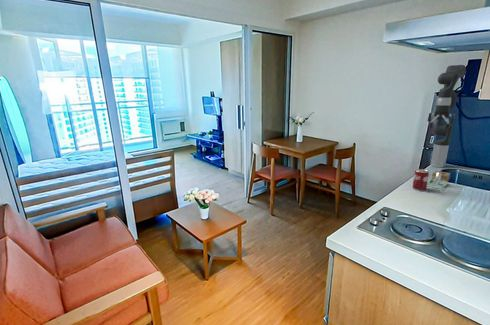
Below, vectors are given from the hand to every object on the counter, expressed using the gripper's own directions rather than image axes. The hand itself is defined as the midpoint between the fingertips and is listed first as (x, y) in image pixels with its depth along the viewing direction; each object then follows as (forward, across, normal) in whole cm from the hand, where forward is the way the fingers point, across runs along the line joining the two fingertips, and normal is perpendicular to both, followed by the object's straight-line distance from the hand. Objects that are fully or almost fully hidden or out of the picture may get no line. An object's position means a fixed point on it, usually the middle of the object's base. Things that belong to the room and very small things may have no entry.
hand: (438, 128), depth 176 cm
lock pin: (+33, -9, +23) cm, 41 cm away
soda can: (+33, -3, +36) cm, 49 cm away
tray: (+33, -9, +23) cm, 41 cm away
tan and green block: (+33, -8, +12) cm, 36 cm away
